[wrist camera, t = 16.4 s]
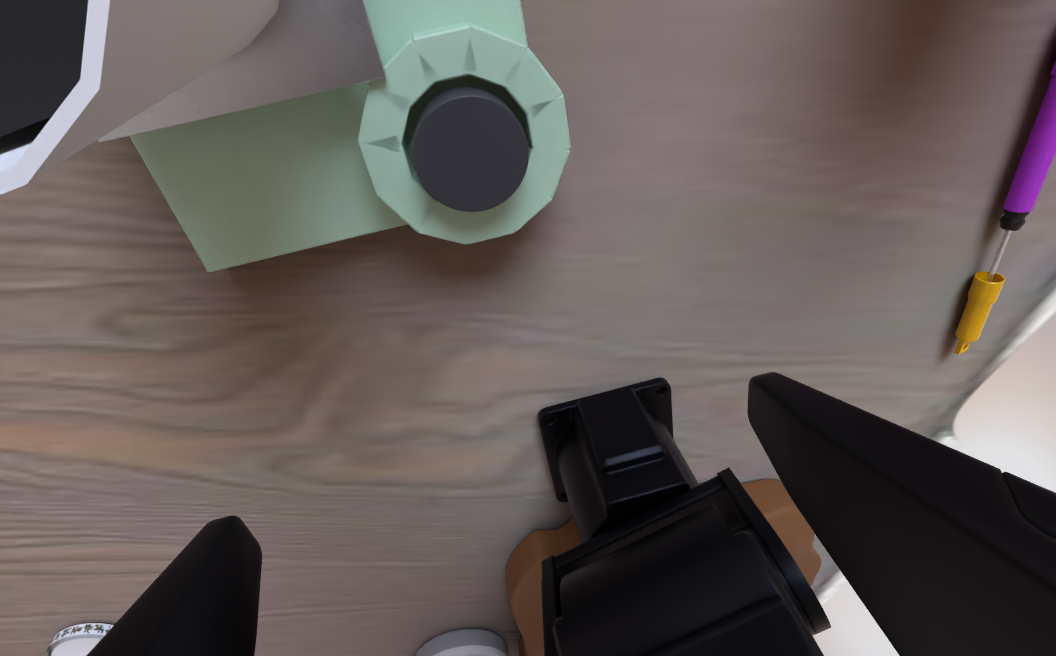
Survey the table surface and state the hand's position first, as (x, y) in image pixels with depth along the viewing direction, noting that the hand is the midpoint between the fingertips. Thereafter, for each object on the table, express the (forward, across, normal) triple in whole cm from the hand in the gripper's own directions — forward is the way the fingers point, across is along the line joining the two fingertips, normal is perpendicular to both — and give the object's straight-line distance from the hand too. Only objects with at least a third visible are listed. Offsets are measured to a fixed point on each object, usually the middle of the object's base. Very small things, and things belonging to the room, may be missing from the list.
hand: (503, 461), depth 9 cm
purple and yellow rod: (+13, -24, +6) cm, 28 cm away
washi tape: (+13, +25, +18) cm, 33 cm away
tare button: (+10, -1, -3) cm, 11 cm away
